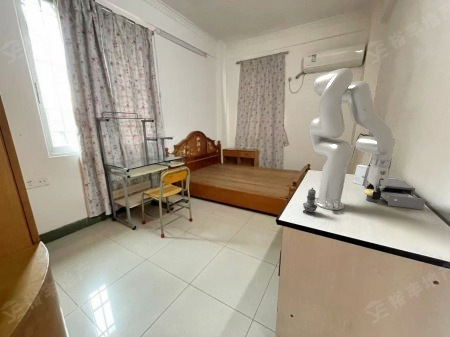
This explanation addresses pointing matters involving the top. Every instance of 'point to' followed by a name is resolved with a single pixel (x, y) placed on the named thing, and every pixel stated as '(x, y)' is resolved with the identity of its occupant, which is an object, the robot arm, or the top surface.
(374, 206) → the top surface
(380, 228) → the top surface
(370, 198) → the puck
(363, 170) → the skincare box
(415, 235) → the top surface
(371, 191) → the disc
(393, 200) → the grey drawer
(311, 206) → the grey stone pagoda
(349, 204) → the top surface
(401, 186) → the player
